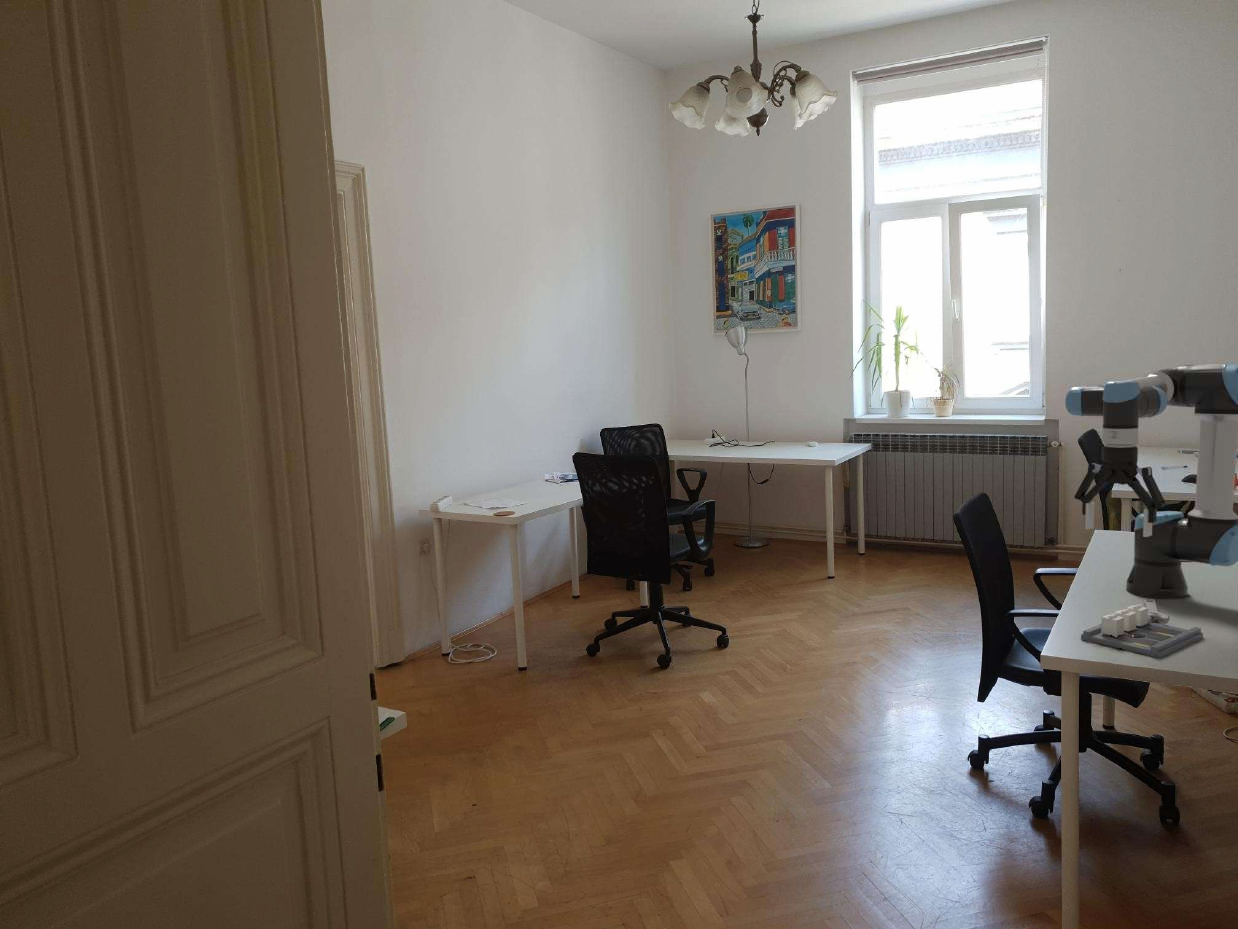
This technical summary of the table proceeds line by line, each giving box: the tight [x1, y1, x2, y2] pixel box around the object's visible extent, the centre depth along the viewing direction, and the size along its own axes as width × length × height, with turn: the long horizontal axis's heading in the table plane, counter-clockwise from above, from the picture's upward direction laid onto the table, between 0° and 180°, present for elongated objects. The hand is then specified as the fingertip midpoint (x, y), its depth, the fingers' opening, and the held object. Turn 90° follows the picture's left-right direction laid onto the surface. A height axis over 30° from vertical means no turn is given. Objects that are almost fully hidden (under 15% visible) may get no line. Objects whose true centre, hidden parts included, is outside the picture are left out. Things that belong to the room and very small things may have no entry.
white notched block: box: [1125, 603, 1148, 626], centre depth 223 cm, size 4×4×5 cm
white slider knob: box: [1113, 608, 1136, 631], centre depth 219 cm, size 4×4×5 cm
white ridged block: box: [1100, 613, 1124, 636], centre depth 216 cm, size 4×4×5 cm
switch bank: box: [1080, 621, 1204, 659], centre depth 217 cm, size 22×18×2 cm
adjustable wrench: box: [1142, 598, 1170, 625], centre depth 233 cm, size 25×6×2 cm, turn 148°
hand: (1117, 532), depth 217 cm, fingers open, 13 cm apart
